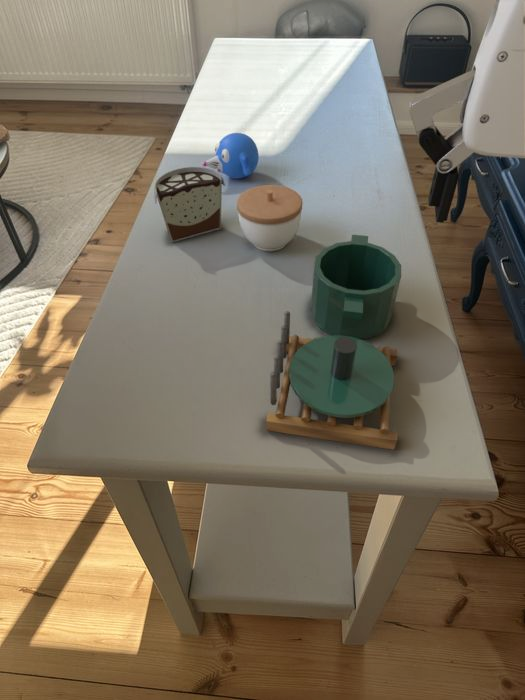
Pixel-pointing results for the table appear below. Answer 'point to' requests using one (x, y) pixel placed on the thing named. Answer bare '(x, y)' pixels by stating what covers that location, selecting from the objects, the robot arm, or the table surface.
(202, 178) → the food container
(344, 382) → the lid
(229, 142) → the blue mole toy
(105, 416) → the table surface
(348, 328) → the pot
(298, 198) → the trinket box
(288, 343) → the dish rack
